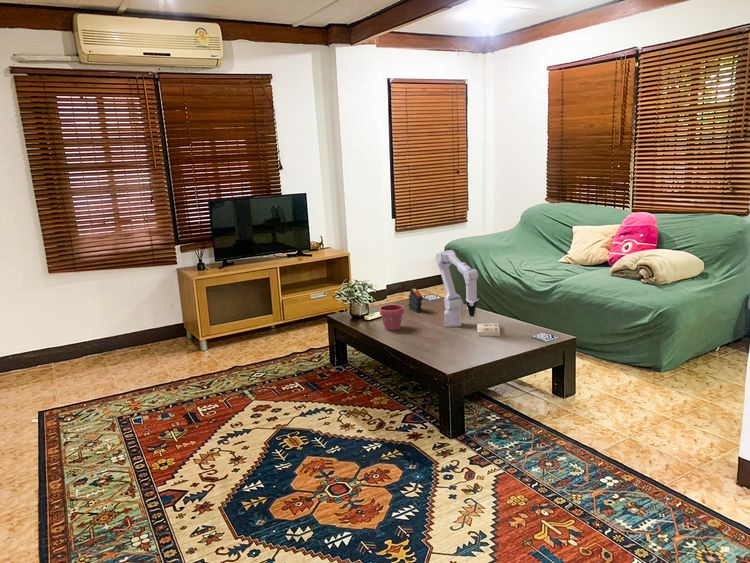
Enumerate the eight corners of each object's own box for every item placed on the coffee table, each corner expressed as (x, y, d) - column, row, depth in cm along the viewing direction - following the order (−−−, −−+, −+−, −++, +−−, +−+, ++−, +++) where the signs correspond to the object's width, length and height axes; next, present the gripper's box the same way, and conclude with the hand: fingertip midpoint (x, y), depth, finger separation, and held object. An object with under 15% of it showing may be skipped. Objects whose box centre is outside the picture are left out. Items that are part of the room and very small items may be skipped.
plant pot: (384, 324, 342) (382, 303, 339) (406, 324, 338) (405, 304, 335) (377, 331, 329) (376, 310, 326) (401, 332, 325) (400, 311, 322)
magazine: (411, 304, 375) (415, 286, 367) (420, 317, 366) (424, 299, 357) (406, 305, 374) (410, 287, 365) (415, 318, 365) (419, 299, 356)
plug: (466, 321, 316) (466, 309, 314) (466, 318, 320) (466, 306, 318) (476, 321, 315) (476, 308, 313) (476, 318, 319) (476, 306, 317)
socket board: (477, 335, 312) (477, 330, 311) (477, 327, 326) (476, 322, 326) (499, 335, 310) (499, 330, 309) (498, 327, 324) (498, 322, 324)
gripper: (479, 294, 306) (479, 318, 309) (478, 288, 320) (478, 311, 323) (465, 294, 307) (466, 318, 310) (465, 288, 321) (466, 311, 324)
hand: (471, 314), depth 317 cm, fingers closed on plug, 4 cm apart
